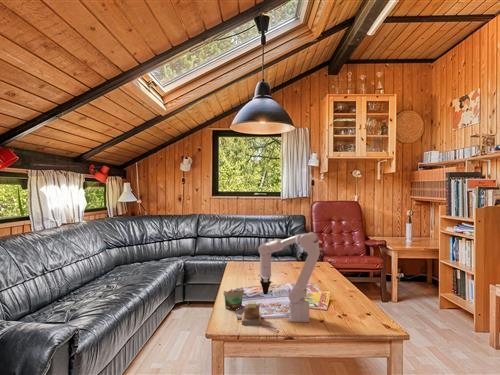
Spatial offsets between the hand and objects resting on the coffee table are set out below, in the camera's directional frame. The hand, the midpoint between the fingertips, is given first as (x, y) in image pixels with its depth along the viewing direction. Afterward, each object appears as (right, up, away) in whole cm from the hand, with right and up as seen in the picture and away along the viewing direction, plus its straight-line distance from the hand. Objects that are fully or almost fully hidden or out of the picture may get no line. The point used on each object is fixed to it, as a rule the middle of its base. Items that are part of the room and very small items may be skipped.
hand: (265, 291), depth 173 cm
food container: (-16, -11, +4) cm, 19 cm away
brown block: (-7, -9, -12) cm, 16 cm away
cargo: (-7, -4, -12) cm, 14 cm away
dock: (-7, -11, -12) cm, 17 cm away
